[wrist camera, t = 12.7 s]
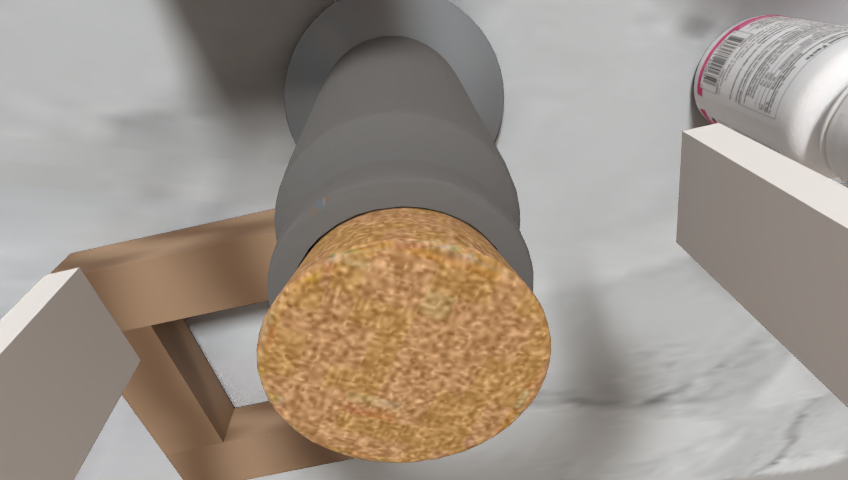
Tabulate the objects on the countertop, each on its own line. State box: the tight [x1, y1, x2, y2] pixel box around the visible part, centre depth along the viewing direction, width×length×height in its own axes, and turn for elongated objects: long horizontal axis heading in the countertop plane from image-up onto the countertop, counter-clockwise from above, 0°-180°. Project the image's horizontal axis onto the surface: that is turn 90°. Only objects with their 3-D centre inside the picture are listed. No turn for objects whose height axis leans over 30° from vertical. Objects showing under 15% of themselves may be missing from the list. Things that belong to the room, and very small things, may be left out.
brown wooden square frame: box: [50, 209, 353, 480], centre depth 26 cm, size 15×15×2 cm
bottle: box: [257, 36, 551, 463], centre depth 15 cm, size 6×6×15 cm
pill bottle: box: [694, 15, 848, 182], centre depth 18 cm, size 5×5×8 cm
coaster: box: [285, 0, 504, 145], centre depth 21 cm, size 9×9×1 cm
